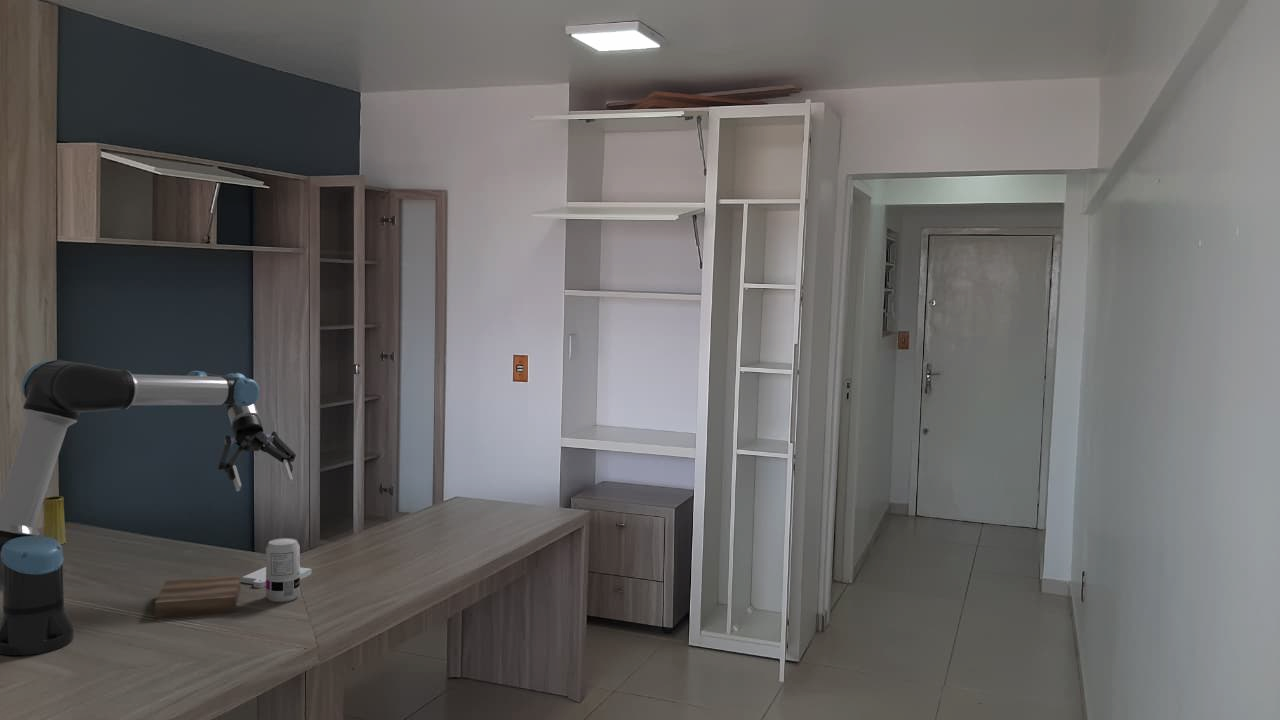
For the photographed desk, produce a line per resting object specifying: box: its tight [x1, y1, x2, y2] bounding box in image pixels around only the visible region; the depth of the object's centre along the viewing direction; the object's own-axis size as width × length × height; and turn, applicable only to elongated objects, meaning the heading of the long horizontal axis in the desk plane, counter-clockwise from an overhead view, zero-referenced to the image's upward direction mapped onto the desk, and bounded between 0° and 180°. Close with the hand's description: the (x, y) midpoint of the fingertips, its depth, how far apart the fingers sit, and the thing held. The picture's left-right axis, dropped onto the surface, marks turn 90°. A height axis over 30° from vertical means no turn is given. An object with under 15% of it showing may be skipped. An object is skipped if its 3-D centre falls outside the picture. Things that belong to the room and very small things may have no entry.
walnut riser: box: [154, 575, 241, 619], centre depth 248 cm, size 18×18×4 cm
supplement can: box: [265, 537, 301, 603], centre depth 254 cm, size 8×8×15 cm
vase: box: [43, 495, 67, 545], centre depth 299 cm, size 6×6×14 cm
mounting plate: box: [241, 566, 313, 589], centre depth 271 cm, size 18×13×2 cm
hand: (265, 485), depth 261 cm, fingers open, 13 cm apart
